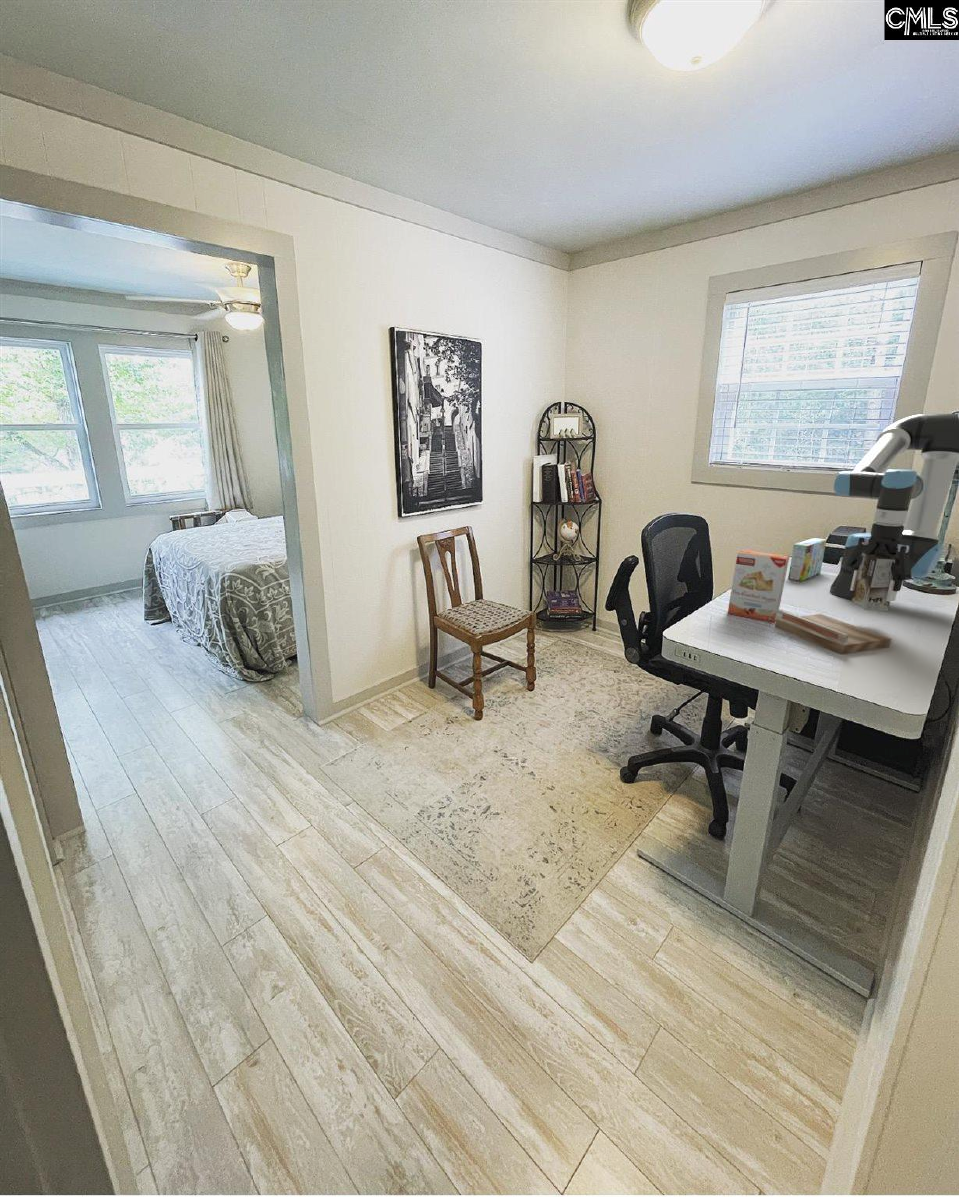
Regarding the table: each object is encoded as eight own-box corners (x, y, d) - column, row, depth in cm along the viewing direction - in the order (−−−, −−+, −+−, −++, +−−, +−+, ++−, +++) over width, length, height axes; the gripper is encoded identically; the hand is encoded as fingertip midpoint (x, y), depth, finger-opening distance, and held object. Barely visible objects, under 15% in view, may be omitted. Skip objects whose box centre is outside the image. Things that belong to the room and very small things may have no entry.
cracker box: (726, 614, 173) (736, 551, 167) (731, 609, 177) (741, 548, 171) (774, 623, 165) (786, 558, 158) (777, 618, 169) (790, 555, 163)
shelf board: (819, 621, 167) (822, 604, 165) (889, 647, 147) (894, 628, 145) (774, 626, 162) (777, 610, 160) (840, 654, 142) (845, 635, 140)
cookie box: (888, 611, 157) (901, 559, 152) (864, 610, 158) (876, 558, 153) (873, 601, 166) (885, 551, 161) (850, 600, 167) (861, 551, 162)
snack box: (806, 571, 230) (813, 537, 226) (820, 574, 226) (828, 539, 221) (786, 579, 217) (793, 543, 213) (801, 582, 213) (808, 545, 209)
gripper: (842, 518, 163) (828, 586, 170) (921, 531, 143) (901, 608, 150) (860, 516, 166) (845, 583, 173) (940, 529, 145) (920, 605, 152)
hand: (871, 595), depth 161 cm, fingers closed on cookie box, 10 cm apart
